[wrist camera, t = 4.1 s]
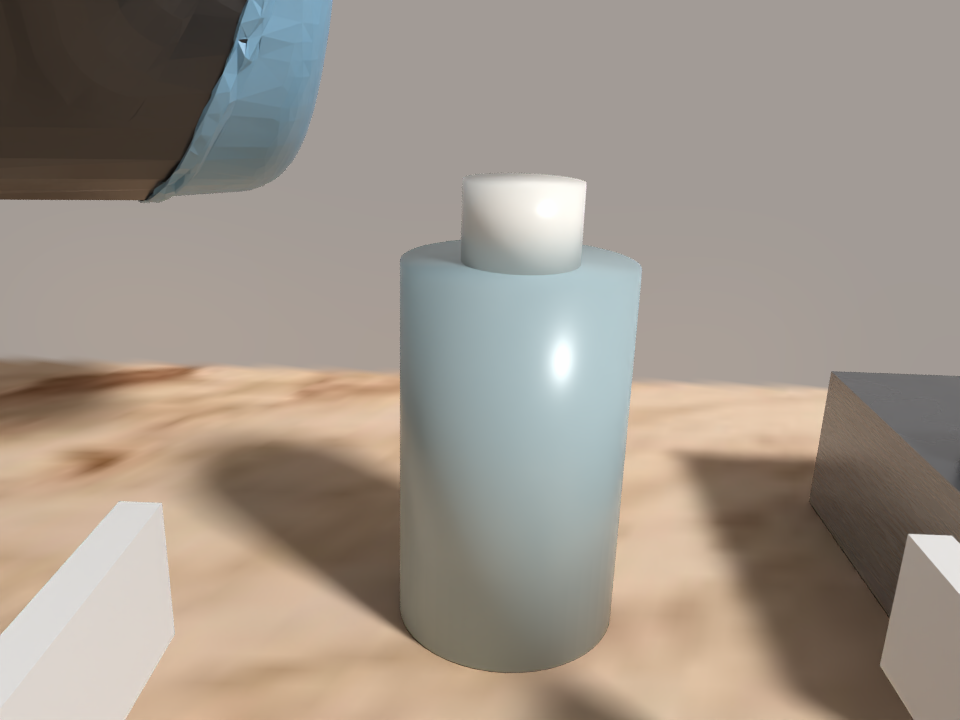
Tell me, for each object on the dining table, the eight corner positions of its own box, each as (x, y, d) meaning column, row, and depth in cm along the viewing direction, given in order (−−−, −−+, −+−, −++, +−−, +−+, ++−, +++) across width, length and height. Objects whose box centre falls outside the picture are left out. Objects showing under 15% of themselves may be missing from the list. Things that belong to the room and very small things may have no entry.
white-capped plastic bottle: (387, 667, 22) (385, 193, 18) (411, 544, 28) (413, 163, 24) (622, 677, 22) (670, 203, 18) (598, 552, 28) (631, 170, 24)
